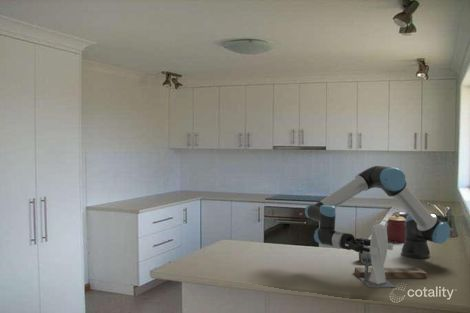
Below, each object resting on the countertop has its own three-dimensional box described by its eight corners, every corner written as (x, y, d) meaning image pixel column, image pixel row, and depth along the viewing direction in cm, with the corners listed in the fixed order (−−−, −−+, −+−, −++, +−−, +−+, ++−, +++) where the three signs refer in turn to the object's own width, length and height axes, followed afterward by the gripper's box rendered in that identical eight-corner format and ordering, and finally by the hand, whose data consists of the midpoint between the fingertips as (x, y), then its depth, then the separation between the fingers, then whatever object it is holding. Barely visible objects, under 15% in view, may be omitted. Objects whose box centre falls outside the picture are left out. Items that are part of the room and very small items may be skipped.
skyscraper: (376, 278, 210) (379, 218, 209) (390, 283, 203) (392, 221, 202) (363, 280, 206) (365, 219, 205) (376, 286, 199) (379, 222, 198)
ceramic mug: (357, 259, 245) (358, 245, 245) (373, 260, 244) (374, 246, 243) (359, 264, 235) (360, 250, 235) (375, 266, 233) (376, 251, 233)
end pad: (384, 279, 211) (384, 278, 211) (395, 287, 199) (395, 286, 199) (359, 278, 210) (359, 278, 210) (368, 287, 198) (368, 286, 198)
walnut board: (418, 273, 222) (418, 267, 222) (426, 278, 214) (426, 272, 214) (354, 272, 220) (354, 267, 220) (360, 277, 212) (360, 272, 212)
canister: (382, 238, 301) (383, 212, 301) (399, 238, 304) (400, 211, 303) (392, 242, 289) (393, 215, 288) (410, 242, 291) (411, 215, 290)
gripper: (357, 244, 226) (398, 253, 210) (328, 252, 208) (370, 262, 193) (358, 229, 225) (398, 237, 210) (328, 236, 208) (370, 244, 193)
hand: (385, 249), depth 202 cm, fingers open, 13 cm apart
